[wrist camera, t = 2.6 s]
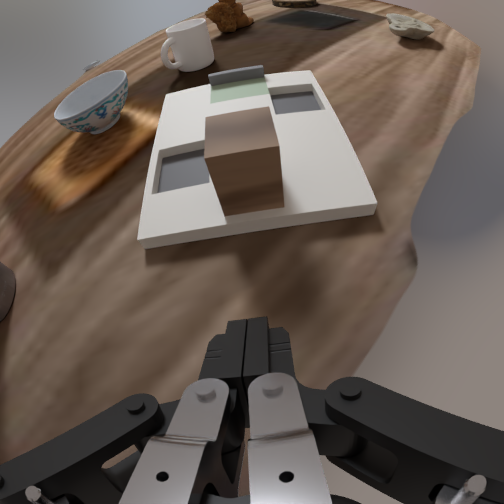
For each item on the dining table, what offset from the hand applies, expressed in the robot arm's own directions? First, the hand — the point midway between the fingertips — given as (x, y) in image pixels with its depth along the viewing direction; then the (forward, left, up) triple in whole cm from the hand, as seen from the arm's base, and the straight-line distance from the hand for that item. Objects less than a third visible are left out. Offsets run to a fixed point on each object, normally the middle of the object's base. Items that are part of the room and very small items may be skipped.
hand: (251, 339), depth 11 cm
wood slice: (-5, +114, -15) cm, 115 cm away
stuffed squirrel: (-22, +82, -14) cm, 86 cm away
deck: (-7, +28, -14) cm, 33 cm away
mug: (-24, +54, -14) cm, 61 cm away
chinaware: (-36, +36, -14) cm, 53 cm away
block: (-5, +18, -12) cm, 22 cm away
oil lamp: (+28, +82, -14) cm, 88 cm away
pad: (-10, +39, -14) cm, 43 cm away
